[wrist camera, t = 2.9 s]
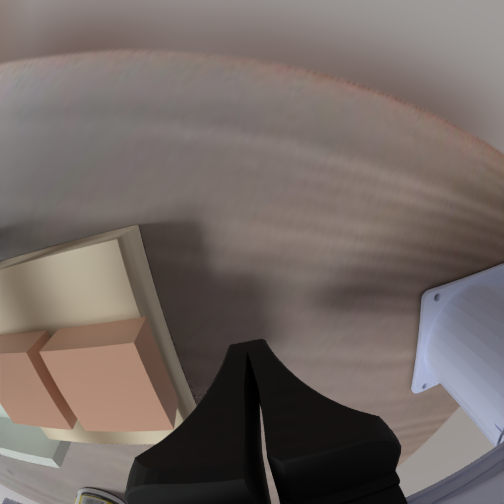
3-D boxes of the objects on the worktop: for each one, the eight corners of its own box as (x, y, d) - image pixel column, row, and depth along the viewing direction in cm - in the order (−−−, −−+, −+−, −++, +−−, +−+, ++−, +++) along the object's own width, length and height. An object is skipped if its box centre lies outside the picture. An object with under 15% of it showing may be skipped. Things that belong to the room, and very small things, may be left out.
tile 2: (46, 330, 11) (26, 352, 9) (84, 404, 13) (72, 430, 11) (-9, 335, 11) (-29, 354, 9) (27, 401, 12) (13, 423, 11)
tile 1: (146, 316, 12) (134, 342, 10) (178, 399, 13) (173, 429, 11) (58, 328, 11) (38, 351, 10) (97, 404, 13) (85, 430, 11)
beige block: (138, 224, 14) (116, 239, 11) (196, 405, 17) (193, 441, 14) (-5, 263, 13) (-36, 279, 10) (63, 410, 16) (48, 438, 13)
